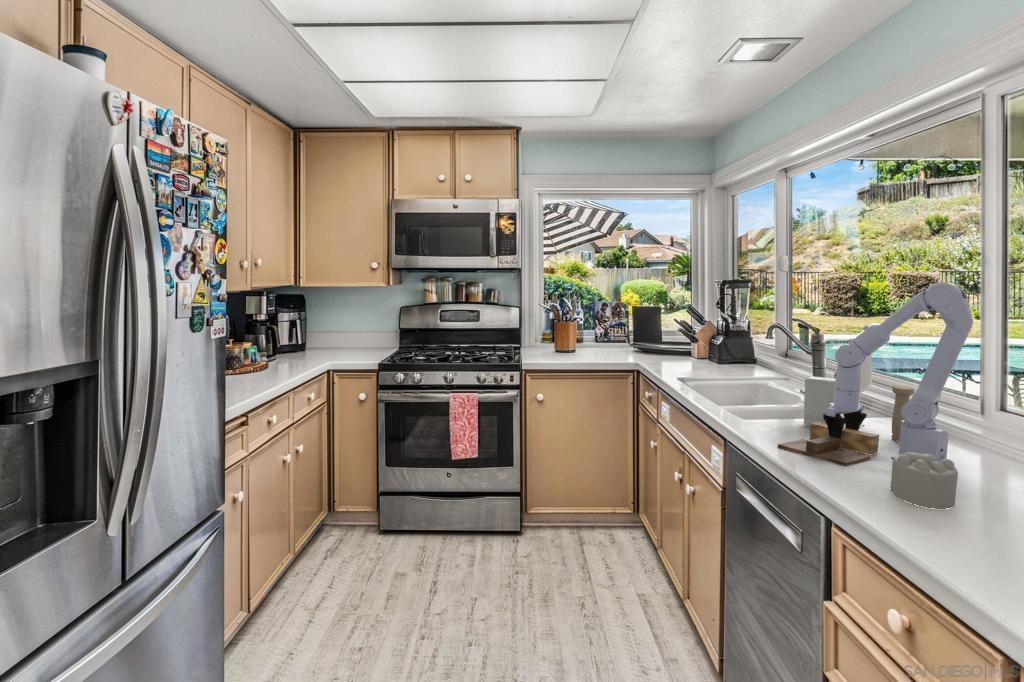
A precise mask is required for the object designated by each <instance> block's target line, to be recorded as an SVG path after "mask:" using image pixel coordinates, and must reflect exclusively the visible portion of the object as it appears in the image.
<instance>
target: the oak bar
mask: <svg viewBox="0 0 1024 682" xmlns="http://www.w3.org/2000/svg"><path fill="white" fill-rule="evenodd" d="M809 432H810V436H809V440H813V439H817V438H822V437H827V436H829V431H828V427H827V424H825V423H820V422H816V423H812V424H811V426H810V431H809ZM879 439H880V435H879V434H877V433H876V434H875V433H870V432H866V431H861V430H858V431H857V430H853V429H848V428H846V427H843V430H842V435H841V439H840V449H843V448H844V450H847V449H848V451H851V450H853V451H852V452H855V451H857V452H856V453H859V452H862V453H861V454H863V453H867V454H866V455H868V454H874V453H877V452H878V451H879V450H878V449H879ZM877 454H878V453H877ZM874 455H875V454H874Z"/></svg>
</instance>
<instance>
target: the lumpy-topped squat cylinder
mask: <svg viewBox="0 0 1024 682" xmlns="http://www.w3.org/2000/svg"><path fill="white" fill-rule="evenodd" d="M894 455H895V456H894V457H893V458H892V469H891V476H890V477H891V479H890V480H891V481H890V488H891V490H890V492H891V491H892V492H893V493H894V495H895V496H896V497H898V498H900V499H902V500H905V501H907V502H910V503H912V504H916V505H919V506H923V507H927V508H935V509H946V508H951V507H953V506H954V505H955V504H956V496H957V495H956V494H957V485H958V476H959V474H958V473H959V471H958V469H957V468H956V467H955V463H954V461H952V460H950V459H948V458H946V459H943V460H940V459H938V458H937V457H936V456H934V455H932V454H920V453H915V452H907V453H904V454H903V455H897V454H894ZM892 492H891V493H892ZM894 495H893V496H894ZM895 496H894V497H895ZM896 497H895V498H896ZM898 498H897V499H898ZM900 499H899V500H900ZM902 500H901V501H902ZM955 506H956V505H955ZM955 506H954V507H955ZM954 507H953V508H954ZM951 509H952V508H951Z"/></svg>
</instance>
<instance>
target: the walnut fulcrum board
mask: <svg viewBox="0 0 1024 682" xmlns="http://www.w3.org/2000/svg"><path fill="white" fill-rule="evenodd" d="M777 448H779V449H782V448H783V449H782V450H786V451H789V450H790V452H793V451H794V453H797V454H800V453H801V454H800V455H805V456H808V457H810V458H811V457H812V458H815V459H819V460H822V461H825V462H830V463H832V464H833V463H834V464H838V465H841V466H844V467H847V466H851V465H854V464H855V465H856V464H859V463H862V461H863V462H865V460H866V461H869V460H868V459H870V460H871V455H868V454H863V453H859V452H855V451H851V450H847V449H843V448H840V439H839V438H835V437H831V436H827V437H822V438H817V439H813V440H810V439H809V440H807V439H804V438H801V439H800V438H799V439H796V440H791V441H787V442H782V443H777Z"/></svg>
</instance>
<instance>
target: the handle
mask: <svg viewBox="0 0 1024 682" xmlns="http://www.w3.org/2000/svg"><path fill="white" fill-rule="evenodd" d="M891 390H892V393H893V394H895V397H894V398H895V399H894V405H893V412H892V416H891V417H892V418H891V433H892V434H891V439H892V440H893V439H894V440H893V441H896V440H900V433H901V422H902V420H904V419H903V418H902V415H901V410H902V407H903V406H904V405H905V404H906V403H907V402H909V401H910V396H913V394H914V393H915V387H912V386H909V385H900V384H899V385H897V384H895V385H892V389H891Z"/></svg>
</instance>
